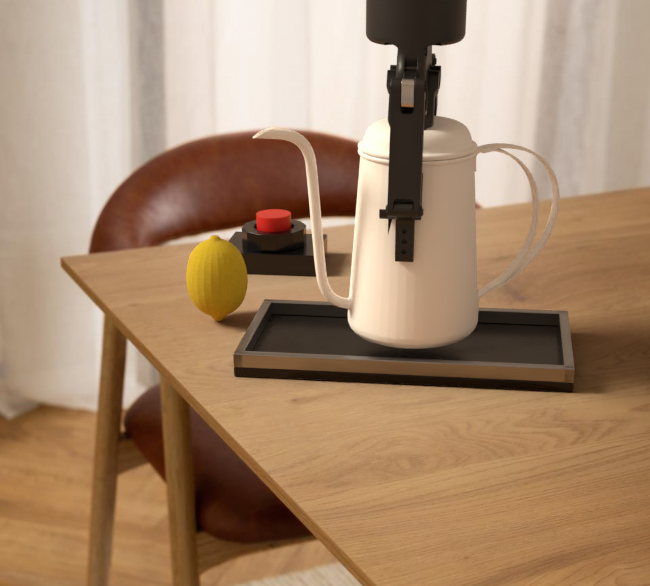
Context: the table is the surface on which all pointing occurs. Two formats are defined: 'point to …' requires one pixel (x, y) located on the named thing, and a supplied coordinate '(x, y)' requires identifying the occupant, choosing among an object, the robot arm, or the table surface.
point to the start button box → (277, 250)
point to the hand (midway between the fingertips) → (408, 279)
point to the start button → (273, 220)
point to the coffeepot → (417, 239)
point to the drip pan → (408, 350)
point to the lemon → (216, 277)
